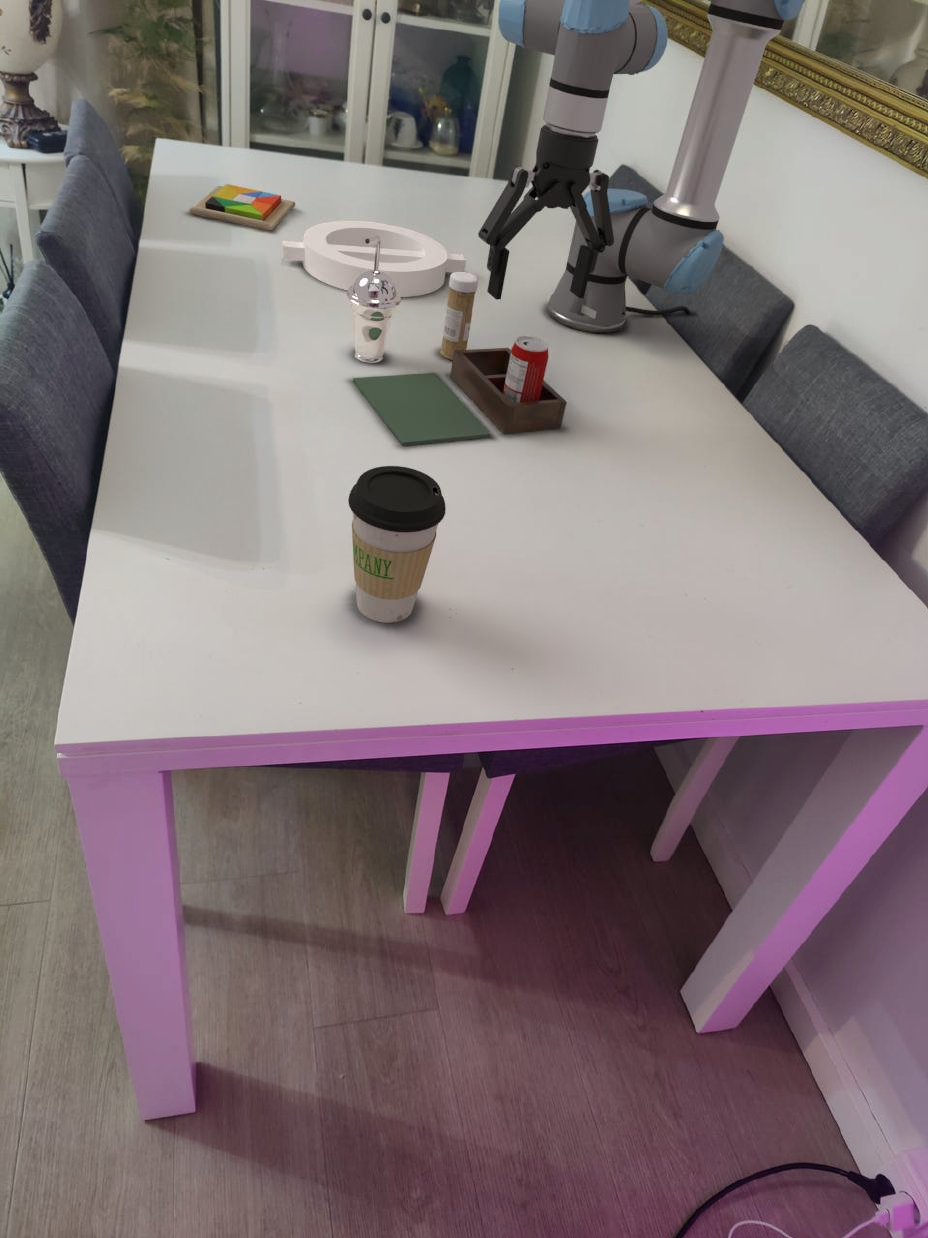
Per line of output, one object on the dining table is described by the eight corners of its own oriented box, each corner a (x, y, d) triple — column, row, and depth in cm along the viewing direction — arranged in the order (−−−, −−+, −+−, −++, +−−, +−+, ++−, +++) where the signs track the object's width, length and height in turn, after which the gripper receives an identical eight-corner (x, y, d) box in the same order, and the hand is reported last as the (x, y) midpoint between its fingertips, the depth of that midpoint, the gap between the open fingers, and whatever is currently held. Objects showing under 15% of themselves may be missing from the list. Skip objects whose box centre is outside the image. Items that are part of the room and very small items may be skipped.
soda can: (538, 413, 141) (554, 339, 133) (529, 427, 137) (545, 352, 129) (505, 403, 142) (519, 329, 134) (494, 417, 138) (509, 342, 130)
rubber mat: (434, 376, 146) (435, 372, 145) (490, 437, 132) (490, 433, 132) (352, 381, 140) (353, 377, 139) (402, 446, 127) (403, 442, 126)
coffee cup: (340, 574, 102) (349, 458, 93) (426, 579, 104) (444, 466, 94) (339, 631, 95) (349, 511, 85) (432, 636, 96) (452, 519, 87)
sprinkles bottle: (471, 359, 153) (484, 280, 144) (448, 362, 150) (460, 281, 142) (456, 348, 155) (468, 269, 147) (434, 350, 153) (445, 271, 145)
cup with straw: (405, 361, 148) (420, 235, 135) (364, 373, 142) (376, 243, 130) (370, 341, 152) (381, 217, 139) (329, 352, 146) (336, 224, 134)
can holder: (503, 373, 150) (508, 347, 148) (560, 428, 138) (567, 401, 135) (449, 376, 146) (453, 350, 143) (503, 434, 134) (509, 406, 131)
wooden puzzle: (187, 216, 186) (186, 198, 184) (220, 193, 201) (220, 176, 198) (269, 233, 186) (269, 215, 183) (296, 209, 200) (297, 192, 198)
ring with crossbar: (470, 276, 184) (474, 252, 181) (390, 308, 164) (393, 282, 161) (360, 235, 193) (362, 212, 190) (272, 261, 173) (272, 236, 170)
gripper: (634, 127, 122) (595, 284, 135) (470, 114, 111) (445, 285, 125) (666, 142, 117) (622, 303, 130) (497, 130, 107) (468, 306, 120)
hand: (536, 295), depth 128 cm, fingers open, 13 cm apart
